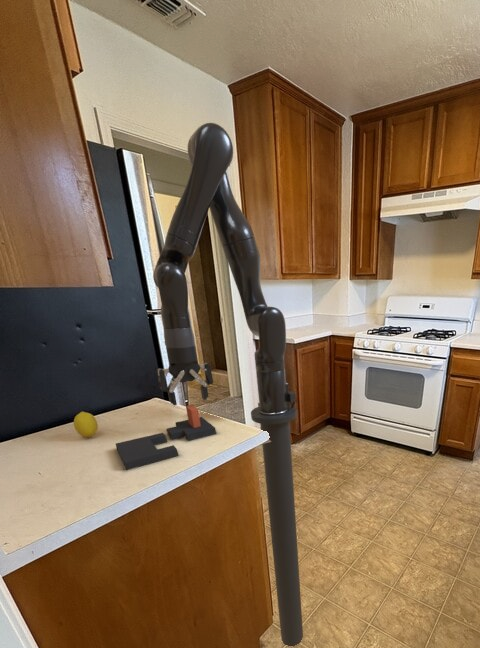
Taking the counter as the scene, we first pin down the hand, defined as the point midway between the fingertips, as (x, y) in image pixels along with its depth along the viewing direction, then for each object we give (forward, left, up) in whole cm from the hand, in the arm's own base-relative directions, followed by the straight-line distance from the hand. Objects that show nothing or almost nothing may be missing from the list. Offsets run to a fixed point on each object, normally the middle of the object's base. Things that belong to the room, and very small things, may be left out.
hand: (190, 401), depth 102 cm
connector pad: (+2, 0, -9) cm, 9 cm away
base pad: (+15, +7, -9) cm, 19 cm away
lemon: (+26, -15, -10) cm, 31 cm away
